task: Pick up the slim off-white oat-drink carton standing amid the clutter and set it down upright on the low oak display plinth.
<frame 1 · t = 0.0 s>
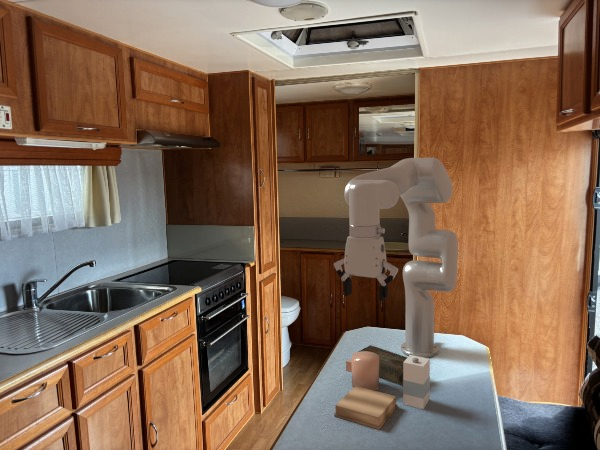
hand: (365, 297, 121), 31 cm above the table, fingers open, 9 cm apart
plinth: (366, 411, 125), on the table
slim carton: (416, 402, 129), on the table
beverage carton: (387, 375, 146), on the table
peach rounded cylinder: (365, 385, 139), on the table
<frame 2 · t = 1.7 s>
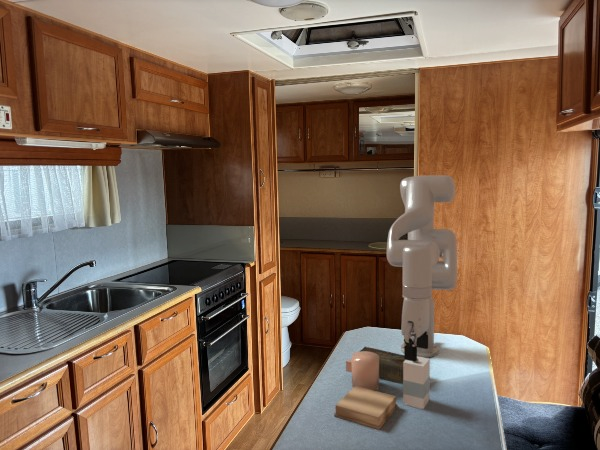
hand: (416, 353, 127), 14 cm above the table, fingers open, 9 cm apart
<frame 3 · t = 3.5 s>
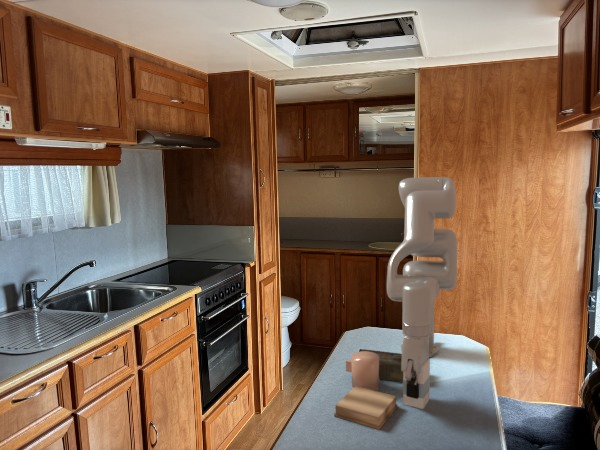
hand: (416, 391, 129), 3 cm above the table, fingers closed on slim carton, 5 cm apart
slim carton: (416, 402, 129), on the table, touching gripper
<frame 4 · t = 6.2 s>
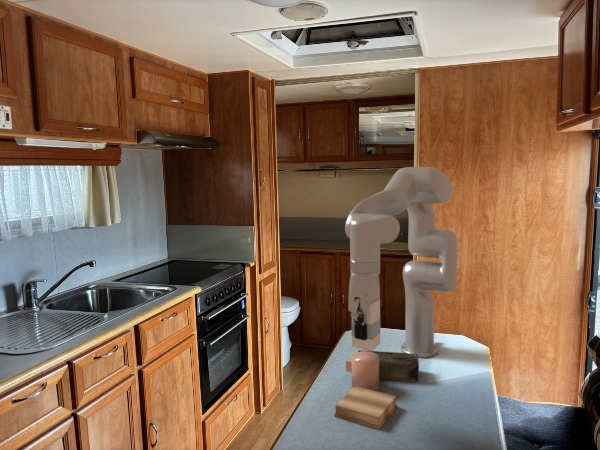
hand: (365, 334, 122), 21 cm above the table, fingers closed on slim carton, 5 cm apart
slim carton: (366, 345, 123), point 18 cm above the table, touching gripper
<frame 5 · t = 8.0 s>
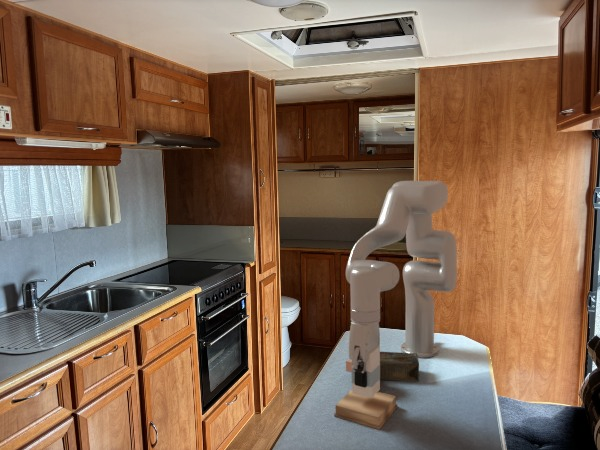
hand: (365, 380, 124), 9 cm above the table, fingers closed on slim carton, 5 cm apart
slim carton: (366, 391, 124), point 6 cm above the table, touching gripper
when the fingers open (7 cm above the table, at t = 9.2 s): slim carton stays where it is, resting on plinth.
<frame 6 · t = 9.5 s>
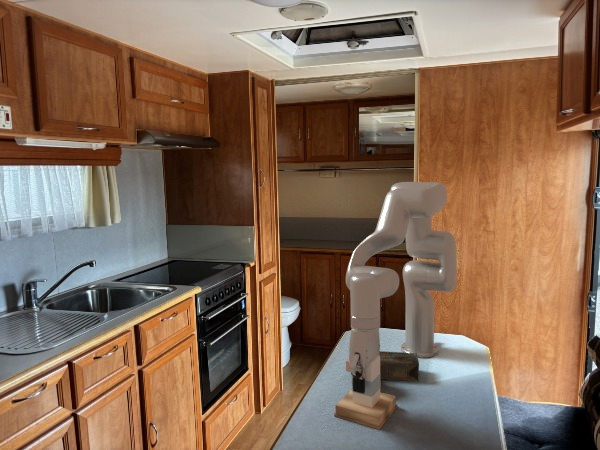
hand: (366, 384, 124), 8 cm above the table, fingers open, 8 cm apart
slim carton: (366, 400, 125), point 3 cm above the table, touching plinth
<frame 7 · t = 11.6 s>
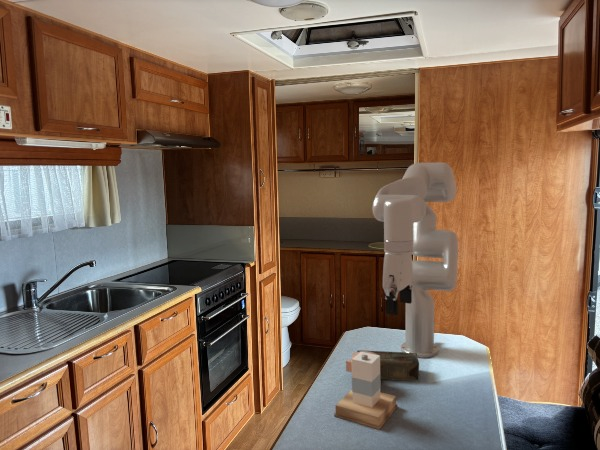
hand: (399, 308, 127), 26 cm above the table, fingers open, 9 cm apart
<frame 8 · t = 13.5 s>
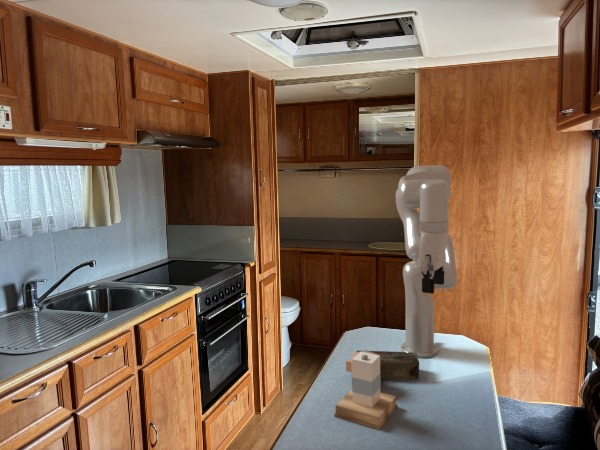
hand: (433, 288, 131), 30 cm above the table, fingers open, 9 cm apart
at the end: slim carton inside the target area on the plinth (0.2 cm from its centre), point 3.0 cm above the plinth's base; slim carton tilted 0°; the gripper is holding nothing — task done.
